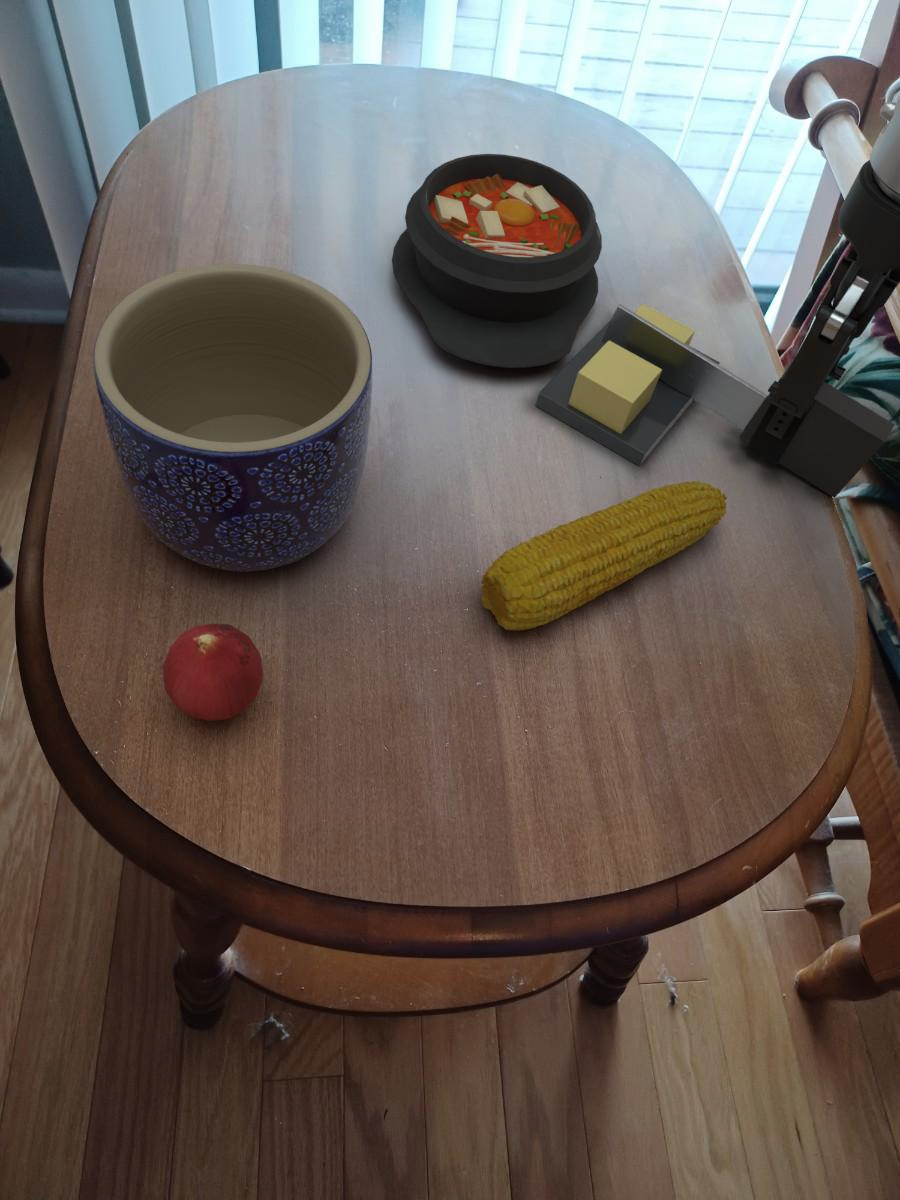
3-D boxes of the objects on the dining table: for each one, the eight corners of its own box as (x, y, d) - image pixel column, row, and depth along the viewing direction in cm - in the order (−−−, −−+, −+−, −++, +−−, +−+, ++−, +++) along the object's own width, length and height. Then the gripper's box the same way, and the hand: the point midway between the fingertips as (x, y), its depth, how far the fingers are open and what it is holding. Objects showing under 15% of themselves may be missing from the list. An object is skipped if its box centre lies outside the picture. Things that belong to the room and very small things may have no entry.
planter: (137, 423, 72) (101, 257, 60) (355, 422, 75) (364, 263, 63) (123, 606, 63) (78, 455, 51) (371, 597, 66) (385, 451, 54)
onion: (211, 645, 62) (199, 576, 56) (283, 689, 61) (279, 624, 55) (152, 711, 59) (132, 646, 53) (226, 758, 58) (215, 698, 52)
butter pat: (681, 362, 81) (695, 330, 78) (666, 381, 80) (679, 349, 77) (631, 335, 82) (642, 303, 80) (615, 353, 81) (626, 321, 78)
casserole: (608, 392, 80) (636, 313, 73) (388, 376, 78) (396, 293, 71) (579, 212, 94) (600, 131, 87) (391, 194, 92) (398, 109, 85)
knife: (844, 480, 78) (894, 424, 72) (834, 498, 76) (885, 442, 71) (608, 333, 81) (638, 268, 75) (595, 348, 80) (625, 282, 74)
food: (510, 658, 65) (527, 611, 60) (464, 598, 67) (476, 548, 62) (728, 538, 73) (758, 487, 68) (680, 488, 75) (706, 436, 70)
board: (714, 375, 83) (720, 362, 82) (639, 466, 76) (644, 454, 75) (616, 322, 86) (621, 308, 84) (535, 406, 78) (538, 392, 77)
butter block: (649, 401, 78) (662, 369, 75) (620, 434, 76) (632, 403, 73) (598, 372, 79) (609, 339, 77) (567, 404, 77) (577, 372, 74)
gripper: (907, 109, 63) (766, 372, 83) (822, 209, 55) (688, 475, 75) (1014, 157, 62) (845, 414, 81) (942, 268, 54) (773, 524, 73)
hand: (770, 443), depth 78 cm, fingers closed on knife, 2 cm apart
